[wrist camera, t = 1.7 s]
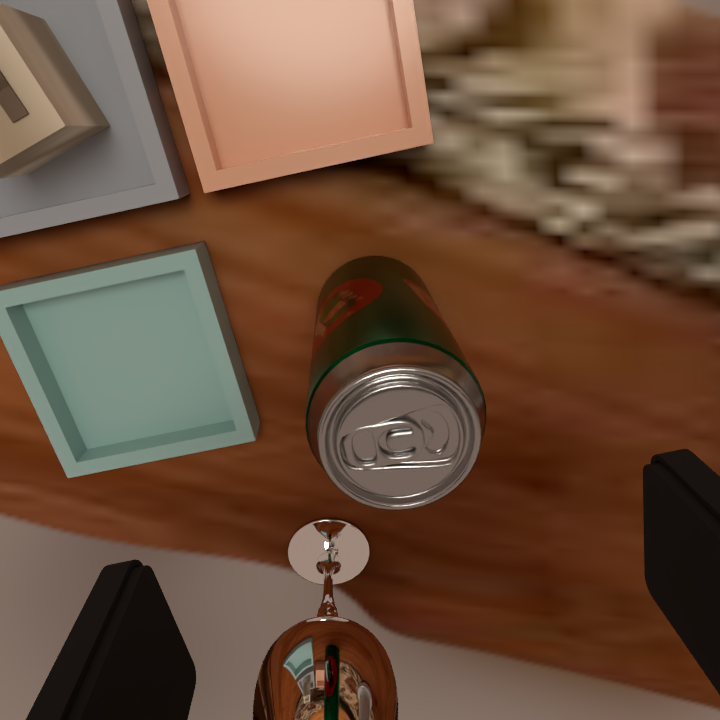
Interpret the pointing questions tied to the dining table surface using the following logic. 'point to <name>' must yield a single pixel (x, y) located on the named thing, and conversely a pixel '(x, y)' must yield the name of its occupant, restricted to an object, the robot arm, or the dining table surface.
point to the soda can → (390, 389)
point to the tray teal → (130, 360)
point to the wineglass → (326, 642)
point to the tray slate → (112, 145)
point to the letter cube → (39, 96)
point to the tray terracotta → (292, 83)
